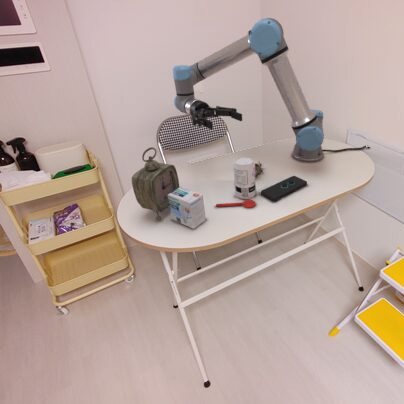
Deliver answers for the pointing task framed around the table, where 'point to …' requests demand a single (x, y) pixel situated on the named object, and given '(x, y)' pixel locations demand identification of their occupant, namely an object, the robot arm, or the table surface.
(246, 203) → the red spoon
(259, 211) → the table surface
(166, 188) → the tabletop clock
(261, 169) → the eagle figurine
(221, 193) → the table surface
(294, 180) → the smart home device
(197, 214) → the light bulb box
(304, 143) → the robot arm
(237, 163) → the supplement can
